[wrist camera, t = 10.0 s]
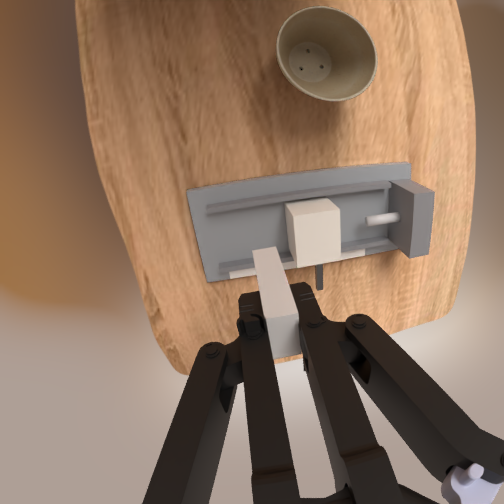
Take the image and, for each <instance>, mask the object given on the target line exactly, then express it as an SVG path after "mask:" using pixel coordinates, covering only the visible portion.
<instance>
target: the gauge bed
mask: <svg viewBox="0 0 504 504" xmlns="http://www.w3.org/2000/svg"><path fill="white" fill-rule="evenodd" d="M186 193H187V198H188V202H189V207H190V211H191V216H192V220H193V225H194V229H195V233H196V238H197V242H198V246H199V250H200V254H201V259H202V263H203V267H204V271H205V275H206V279H207V282H214V281H220V280H226V279H233V278H240V277H246V276H252V275H256V270H255V264H254V258H253V253H252V251H253V250H259V249H264V248H270V247H275V246H276V248H277V251H278V254H279V257H280V260H281V263H282V266H283V268H284V270H287V269H293V268H297V266H296V263H295V261H294V259H293V257H292V254H291V252H290V250H289V245H288V235H287V225H286V216H285V207H284V202H286V201H292V200H299V199H306V198H314V197H321V196H326V197H327V198H328V199H329V200H330V201H331V202H333V203H334V204H335V205H336V206H337V207H338V208H339V209H340V229H341V260H344V259H349V258H354V257H360V256H365V255H370V254H375V253H380V252H385V251H391V250H396V249H400V250H401V251H402V252H403V253H404V254H405V255H406V256H407V257H408V258H414V257H419V256H423V255H428V254H429V247H430V239H431V231H432V221H433V209H434V194H435V192H434V191H432V190H430V189H428V188H426V187H424V186H422V185H420V184H418V183H416V182H414V181H412V180H411V163H408V162H394V163H380V164H367V165H356V166H345V167H335V168H326V169H317V170H309V171H300V172H293V173H285V174H278V175H271V176H264V177H257V178H251V179H244V180H238V181H232V182H226V183H220V184H215V185H209V186H203V187H198V188H193V189H188V190H187V192H186Z"/></svg>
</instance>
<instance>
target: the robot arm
mask: <svg viewBox="0 0 504 504" xmlns="http://www.w3.org/2000/svg"><path fill="white" fill-rule="evenodd" d="M252 253H253V258H254V264H255V270H256V275H257V281H258V287H259V291H256V292H250V293H244V294H241V296H240V298H239V300H238V303H239V315H240V317H239V318H238V320H237V328H238V332H239V337H238V338H237V339H236V340H235V341H233V342H231V343H229V344H227V345H225V346H224V345H223V344H222V343H219V342H210V343H207V344H205V345H204V346H202V347H201V348H200V350H199V351H198V354H197V356H196V359H195V362H194V364H193V367H192V370H191V372H190V375H189V378H188V380H187V383H186V386H185V388H184V391H183V394H182V396H181V399H180V401H179V405H178V407H177V410H176V413H175V415H174V418H173V421H172V423H171V426H170V429H169V431H168V434H167V437H166V439H165V442H164V445H163V448H162V451H161V453H160V456H159V459H158V462H157V464H156V467H155V470H154V472H153V475H152V478H151V481H150V484H149V486H148V489H147V492H146V495H145V498H144V500H143V503H142V504H209V500H210V496H211V492H212V488H213V484H214V480H215V476H216V472H217V468H218V464H219V460H220V456H221V452H222V448H223V444H224V440H225V436H226V432H227V428H228V424H229V419H230V415H231V411H232V407H233V403H234V399H235V394H236V390H237V384H240V383H242V382H244V391H245V402H246V412H247V423H248V433H249V443H250V453H251V463H252V476H251V483H252V493H253V502H254V504H439V503H437V502H435V501H433V500H431V499H429V498H427V497H425V496H422V495H421V494H419V493H417V492H415V491H413V490H411V489H409V488H407V487H405V486H403V485H401V484H398V483H397V480H396V477H395V474H394V471H393V469H392V466H391V463H390V461H389V458H388V455H387V453H386V451H385V449H384V448H383V447H382V446H379V444H378V442H377V440H376V438H375V435H374V432H373V429H372V427H371V424H370V422H369V419H368V416H367V414H366V411H365V408H364V406H363V403H362V401H361V398H360V396H359V393H358V391H357V388H356V386H355V383H354V381H353V378H352V376H351V374H352V375H353V376H354V378H355V379H356V380H357V381H358V383H359V384H360V385H361V387H362V388H363V389H364V390H365V392H366V393H367V394H368V395H369V397H370V398H371V399H372V400H373V402H374V403H375V404H376V406H377V407H378V408H379V409H380V411H381V412H382V413H383V414H384V416H385V417H386V418H387V420H389V422H390V423H391V425H392V426H393V427H394V428H395V429H396V431H397V432H398V434H399V435H400V436H401V437H402V439H403V440H404V441H405V442H406V444H407V445H408V446H409V448H410V449H411V450H412V451H413V453H414V454H415V455H416V456H417V458H418V459H419V460H420V461H421V463H422V464H423V465H424V466H425V468H426V469H427V470H428V471H429V472H430V473H431V474H432V475H433V476H434V477H435V478H436V479H437V480H439V481H440V482H442V486H441V493H442V496H443V498H445V499H446V500H447V501H448V502H449V504H491V503H492V501H493V499H494V497H495V496H496V494H497V491H498V490H499V488H500V486H501V485H502V483H503V482H504V440H502V439H500V438H498V437H496V436H493V435H492V434H490V433H488V432H485V431H483V430H482V429H480V428H479V427H478V426H477V425H476V424H475V423H474V422H473V421H472V420H471V419H470V418H469V417H468V415H467V414H465V412H464V411H463V410H462V409H461V408H460V407H459V406H458V405H457V404H456V403H455V402H454V401H453V400H452V399H451V398H450V397H449V396H448V394H446V392H445V391H443V389H442V388H441V387H440V386H439V385H438V384H437V383H436V382H435V381H434V380H433V379H432V378H431V377H430V376H429V375H428V374H427V373H426V372H425V371H424V370H423V369H422V368H421V367H420V366H419V365H418V364H417V363H416V362H415V361H414V360H413V359H412V358H411V357H410V356H409V355H408V354H407V353H406V352H405V351H404V350H403V349H402V348H401V347H400V346H399V345H398V344H397V343H396V342H395V341H394V340H393V339H392V338H391V337H390V336H389V335H388V334H387V333H386V332H385V331H384V330H383V329H382V328H381V327H380V326H379V325H378V324H377V323H376V322H375V321H374V320H372V319H371V318H370V317H369V316H367V315H364V314H354V315H351V316H350V317H348V318H347V320H346V322H334V321H330V320H328V319H327V318H326V316H324V315H323V314H322V312H321V310H320V307H319V305H318V303H317V300H316V298H315V296H314V293H313V291H312V289H311V287H310V286H309V285H308V284H307V283H305V282H301V283H296V284H290V285H289V283H288V280H287V277H286V274H285V271H284V268H283V266H282V263H281V260H280V257H279V254H278V251H277V248H276V246H275V247H270V248H264V249H259V250H253V251H252ZM301 350H302V353H303V364H304V371H306V373H307V377H308V380H309V384H310V388H311V391H312V395H313V398H314V402H315V406H316V410H317V413H318V417H319V421H320V425H321V428H322V432H323V436H324V440H325V444H326V447H327V451H328V455H329V459H330V463H331V467H332V471H333V474H334V479H335V488H336V493H335V494H333V495H331V496H328V497H326V498H300V495H299V489H298V485H297V479H296V474H295V469H294V465H293V460H292V454H291V449H290V444H289V438H288V433H287V428H286V423H285V418H284V412H283V407H282V403H281V397H280V392H279V386H278V382H277V376H276V371H275V365H274V360H273V359H278V358H283V357H288V356H293V355H298V354H302V353H301Z"/></svg>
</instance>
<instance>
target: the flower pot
mask: <svg viewBox="0 0 504 504" xmlns="http://www.w3.org/2000/svg"><path fill="white" fill-rule="evenodd" d="M306 50H307V52H306ZM276 57H277V61H278V65H279V67H280V69H281V71H282V73H283V75H284V76H285V77H286V79H287V80H288V81H289V82H290V83H291V84H292V85H293V86H294V87H295V88H297V89H298V90H299V91H301V92H303V93H304V94H306V95H308V96H311V97H313V98H316V99H320V100H325V101H345V100H349V99H352V98H354V97H357V96H358V95H360V94H361V93H363V92H364V91H365V90H366V89H367V88H368V87H369V86H370V84H371V83H372V81H373V79H374V77H375V74H376V70H377V63H378V59H377V51H376V47H375V44H374V42H373V39H372V38H371V36H370V34H369V33H368V31H367V30H366V29H365V27H364V26H363V25H362V24H361V23H360V22H359V21H358V20H356V19H355V18H354V17H352V16H351V15H349V14H348V13H346V12H344V11H341V10H339V9H336V8H332V7H326V6H312V7H308V8H304V9H301V10H299V11H297V12H295V13H294V14H292V15H291V16H290V17H289V18H288V19H287V20H286V21H285V22H284V23H283V25H282V26H281V28H280V30H279V33H278V36H277V41H276ZM320 65H322V66H323V67H321V66H320ZM301 69H303V70H301Z"/></svg>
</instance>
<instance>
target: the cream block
mask: <svg viewBox="0 0 504 504" xmlns="http://www.w3.org/2000/svg"><path fill="white" fill-rule="evenodd" d="M284 207H285V216H286V225H287V235H288V245H289V250H290V252H291V254H292V257H293V259H294V261H295V263H296V266H297V268H301V267H306V266H312V265H315V279H316V289H317V291H318V290H323V263H329V262H334V261H340V260H341V229H340V209H339V208H338V207H337V206H336V205H335V204H334V203H333V202H331V201H330V200H329V199H328V198H327V197H326V196H321V197H314V198H306V199H299V200H292V201H286V202H284Z"/></svg>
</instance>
